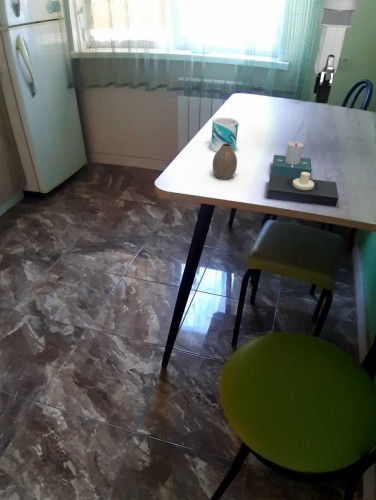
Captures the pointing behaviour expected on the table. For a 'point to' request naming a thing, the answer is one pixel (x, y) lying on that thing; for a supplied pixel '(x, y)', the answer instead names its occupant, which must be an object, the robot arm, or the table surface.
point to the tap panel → (290, 167)
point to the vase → (225, 162)
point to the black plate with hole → (302, 191)
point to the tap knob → (294, 152)
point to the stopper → (303, 182)
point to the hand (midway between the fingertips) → (319, 97)
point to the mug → (224, 133)
